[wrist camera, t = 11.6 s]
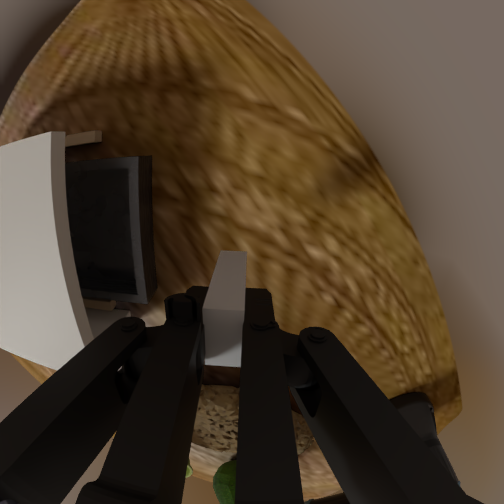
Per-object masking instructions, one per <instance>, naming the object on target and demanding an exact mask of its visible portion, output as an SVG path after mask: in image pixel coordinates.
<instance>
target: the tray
mask: <svg viewBox="0 0 504 504" xmlns="http://www.w3.org/2000/svg"><path fill="white" fill-rule="evenodd" d="M65 183H66V199H67V211H68V221H69V229H70V236H71V243H72V250H73V256H74V261H75V267H76V272H77V277H78V282H79V286H80V291H81V295H82V296H85V297H92V298H100V299H107V300H115V301H123V302H132V303H141V304H148V303H149V301H150V299H151V298H152V296H153V294H154V293H155V291H156V289H157V279H156V267H155V255H154V240H153V219H152V156H133V157H118V158H106V159H95V160H86V161H77V162H69V163H65Z"/></svg>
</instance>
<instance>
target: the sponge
mask: <svg viewBox="0 0 504 504" xmlns="http://www.w3.org/2000/svg"><path fill="white" fill-rule="evenodd" d="M239 391H240V388H235V387H233V386H223V385H203V384H202V386H201V392H200V397H199V402H198V408H197V413H196V419H195V424H194V430H193V436H192V441H191V442H192V443H195V444H197V445H200V446H203V447H205V448H210V449H213V450H215V451H219V452H223V451H225V452H234V453H237V435H238V413H239ZM292 417H293V425H294V432H295V439H296V447H297V454H298V455H299V454H301V453H303V452H304V449H306V448H308V446H309V445H312V443H313V441H314V440H312V439H313V437H314V436H313V434H312V432H311V430H310V428H309V426H308V424H307V422H306V420H305V418H302V417H303V416H302V415H300V414H298V413H296V412H294V411H292Z"/></svg>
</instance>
